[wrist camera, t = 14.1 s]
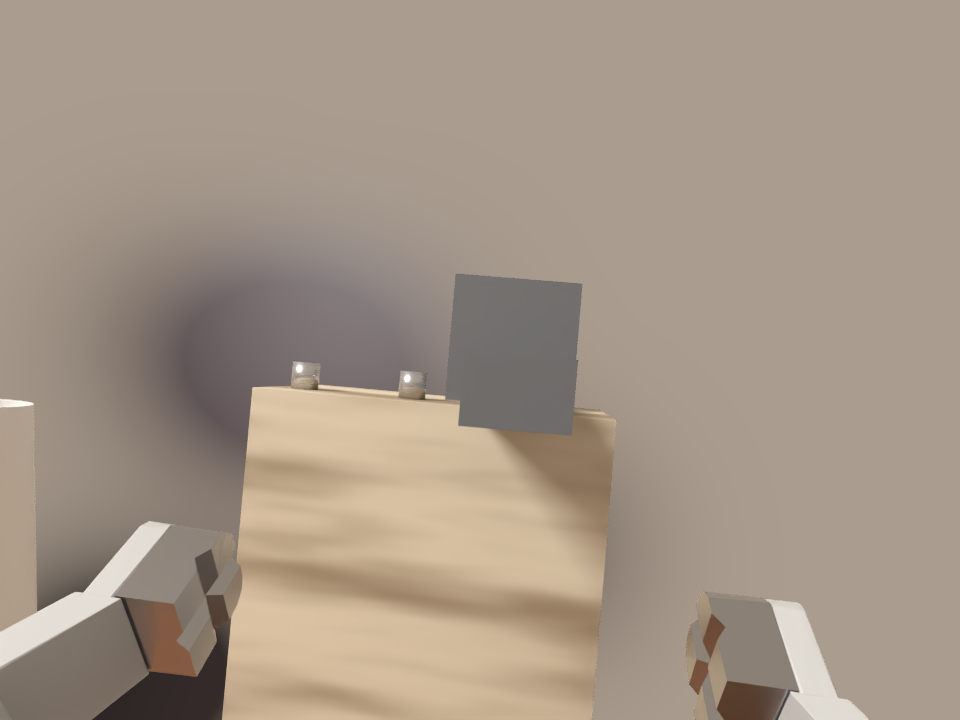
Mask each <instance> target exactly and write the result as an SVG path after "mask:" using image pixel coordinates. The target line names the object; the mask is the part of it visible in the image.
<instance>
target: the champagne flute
mask: <svg viewBox="0 0 960 720" xmlns="http://www.w3.org/2000/svg"><path fill="white" fill-rule="evenodd" d="M36 580H37V579H36V515H35V451H34V404H33V403H30V402H25V401H17V400H6V399H0V632H1V631H3V630H5V629H7V628H9V627H10V626H12V625H14V624H16V623H18V622H20V621H22V620H23V619H25V618H27V617H29V616H31V615H33V614H35V613H37V585H36V584H37V582H36Z"/></svg>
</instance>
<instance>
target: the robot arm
mask: <svg viewBox="0 0 960 720" xmlns="http://www.w3.org/2000/svg"><path fill="white" fill-rule="evenodd" d="M235 549H236V545H235V542H234V538H233V535H232V534H230V533H226V532H220V531H213V530H207V529H200V528H194V527H186V526H181V525H171V524H165V523H158V522H151V521H149V522H147V523H145V524H143V525H141V526H140V527H139V528H138V529H137V530H136V531H135V533H134V534H133V535H132V536H131V537H130V538H129V540H128V541H127V542H126V543H125V544H124V546H123V547H122V548H121V549H120V550H119V551H118V552H117V554H116V555H115V556H114V557H113V558H112V560H111V561H110V562H109V563H108V564H107V565H106V567H105V568H104V569H103V570H102V571H101V572H100V574H99V575H98V576H97V577H96V578H95V579H94V581H93V582H92V583H91V584H90V585H89V586H88V588H87V589H86V590H85V591H84V592H83V593H80V592H74V593H72V594H71V595H68V596H67V597H65V598H63V599H61V600H59V601H57V602H55V603H53V604H52V605H50V606H48V607H46V608H44V609H42V610H41V611H38V612H37V613H35V614H33V615H31V616H29V617H27V618H25V619H23V620H22V621H20V622H18V623H16V624H14V625H12V626H10V627H9V628H7V629H5V630H3V631H1V632H0V720H92V719H93V718H94V717H95V716H97V715H98V714H99V713H100V712H102V711H103V710H104V709H105V708H107V707H108V706H109V705H110V704H112V703H113V702H114V701H115V700H117V699H118V698H119V697H120V696H122V695H123V694H124V693H125V692H127V691H128V690H129V689H130V688H132V687H133V686H134V685H135V684H137V683H138V682H139V681H141V680H142V679H143V678H144V677H145V676H147V675H148V674H149V672H148V671H154V672H162V673H170V674H180V675H187V676H195V677H196V676H197V675H198V673H199V672H200V670H201V668H202V666H203V665H204V663H205V661H206V659H207V658H208V656H209V654H210V652H211V651H212V649H213V647H214V646H215V644H216V635H215V629H216V628H217V627H219V626H220V625H222V624H223V623H225V622H226V621H228V620H229V619H230V617H231V616H232V614H233V612H234V610H235V608H236V606H237V604H238V600H239V597H240V594H241V590H242V571H241V566H240V565H239V564H238V563H237V562H236V561H235V560H234V559H233V558H232V557H231V556H232V554H233V552H234V551H235ZM696 609H697V615H698V620H697V621H696V622H694V623H692V624H691V625H690V629H689V633H688V637H687V647H686V663H687V673H688V680H689V685H690V686H691V687H692V688H693V689H694V690H695V692H696V693H697V694H698V695H699V696H698V699H697V702H696V705H695V708H694V716H695V720H869V719H868V718H867V717H866V716H865V715H864V714H863V713H862V712H861V711H860V710H859V709H858V708H857V707H856V706H855V705H854V704H853V703H852V702H851V701H850V700H846V699H841V698H839V697H838V695H837V692H836V689H835V687H834V684H833V682H832V679H831V676H830V674H829V671H828V669H827V666H826V664H825V661H824V659H823V656H822V653H821V651H820V648H819V646H818V643H817V641H816V638H815V636H814V633H813V631H812V628H811V625H810V623H809V620H808V618H807V615H806V613H805V610H804V608H803V607H802V606H801V605H800V604H799V603H795V602H787V601H779V600H771V599H763V598H756V597H747V596H739V595H730V594H721V593H713V592H702V593H701V595H700V596H699V598H698V602H697V605H696Z"/></svg>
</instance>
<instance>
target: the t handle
mask: <svg viewBox="0 0 960 720" xmlns="http://www.w3.org/2000/svg"><path fill="white" fill-rule="evenodd" d="M581 292H582V284H577V283H565V282H553V281H541V280H528V279H515V278H503V277H490V276H478V275H465V274H456V277H455V289H454V300H453V312H452V324H451V335H450V347H449V359H448V370H447V382H446V393H445V400H455V401H460V409H459V420H458V426H466V427H477V428H488V429H500V430H511V431H522V432H534V433H545V434H556V435H567V436H572V426H573V413H574V401H575V389H576V377H577V365H578V364H577V363H578V360H576V354H577V341H578V329H579V317H580V305H581Z"/></svg>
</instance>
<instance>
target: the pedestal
mask: <svg viewBox="0 0 960 720" xmlns="http://www.w3.org/2000/svg"><path fill="white" fill-rule="evenodd" d="M319 373H320V364H318V363H306V362H293V369H292V380H291V386H278V387H254V388H253V389H252V400H251V411H250V423H249V433H248V444H247V455H246V466H245V476H244V487H243V500H242V510H241V521H240V532H239V543H238V553H237V563H238V564H239V565H240V566H241V571H242V590H241V594H240V597H239V600H238V604H237V606H236V608H235V610H234V612H233V614H232V618H231V630H230V641H229V652H228V662H227V673H226V684H225V695H224V705H223V717H222V720H592V712H593V701H594V688H595V676H596V664H597V663H596V662H597V651H598V640H599V626H600V615H601V602H602V590H603V578H604V566H605V553H606V541H607V528H608V516H609V504H610V491H611V480H612V467H613V455H614V442H615V431H616V420H614V419H613V418H611V417H609V416H608V415H606V414H605V413H603V412H602V411H600V410H594V409H583V408H574V413H573V426H572V436H567V435H556V434H545V433H534V432H522V431H511V430H500V429H488V428H477V427H466V426H458V420H459V409H460V401H455V400H445V396H439V395H428V394H427V395H426V383H427V373H422V372H410V371H401V373H400V384H399V392H394V391H382V390H372V389H360V388H350V387H339V386H328V385H319Z"/></svg>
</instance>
